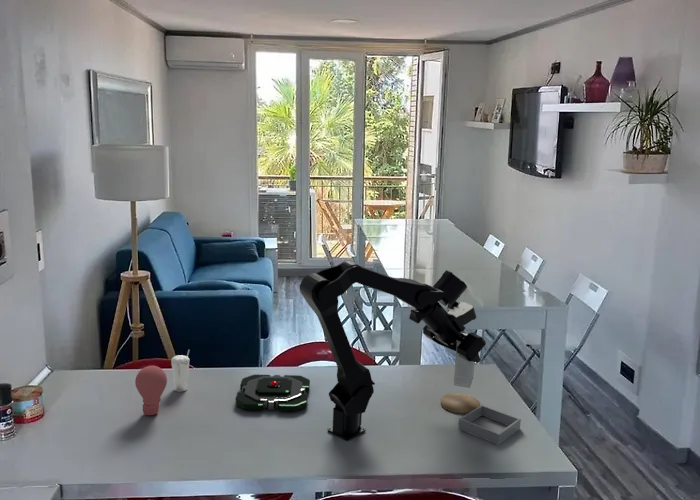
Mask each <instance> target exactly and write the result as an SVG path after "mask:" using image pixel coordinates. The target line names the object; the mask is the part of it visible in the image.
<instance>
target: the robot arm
mask: <svg viewBox="0 0 700 500" xmlns="http://www.w3.org/2000/svg"><path fill="white" fill-rule="evenodd" d="M356 283H357V284H360V285H362V286H365V287H368V288H371V289H374V290H377V291H380V292H383V293H386V294H389V295H391V296H393V297H395V299H398V300H400V301H401V302H403V303H405V304H407V305H409V306H411V307H413V309H410V314H409V320H410V321H413V322H414V323H416V324H417V325H418V324H419V323H420V322H423V323H424V324H425V325H424V327H423V328H422V334H423V335H424V336H425V337H426V338H428V339H430V340H431V341H432V342H434V343H436V344H438V345H440V346H442V347H445V348H448V349H450V350H452V351H454V352H456V349H457V353H458V354H459V355H458V356H460V357H462V358H463V359H465V360H467V361H469V362H470V361H473V362H475V364H479V363H480V362H481V357H480V354H479V353H480V352H482V350H483V348H484V347H485V346H486V343H487V341H486V340H485V339H484V337H482V336H481V335H479V334H477V333H475V332H468V333H467V334H468V335H467V336H466V335H464V334H462V333H464V331H465V330H466V327H465V325H467V324H468V323H470V322H472V321H474V320H476V319H477V314H476V311H475V307H474V305H471V304H470V303H467V302H466V301H457V300H458V299H460V297H461V296H462V294H464V292H465V291H466V290H467V288H468V285H467V284H466V282H464V281H463V280H461V278H459V277H458V276H456V275H455V274H454V273H453V272H452V271H449V270H447V269H445V271H444V272H443V273H442V274H441V277H440V278H439V279H438V280H437V281H436V282H435V284H434V285H433V286H432V285H429V284H428V283H427V284H426V283H421V282H419V281H417V280H415V279H412V278H406V277H405V278H404V277H392V276H389V275H386V274H384V273H381V272H378V271H376V270H373V269H370V268H367V267H365V266H362V265H360V264H357V263H355V262H353V261H351V260H346V261H342V262H340V263H338V264H336V265H335V266H334V265H333V266H330V267H326V268H324V269H320V270H319V271H317V272H315V273H308V274H307V275H305V276H304V277H303V278H302V280H301V282H300V284H299V291H300V293H301V294H300V295H302V297H303V298H304V300H305V301H306V303H307V304H308V306H309V307H310V308H311V310H312V311H313V312H314V313H315V315H316V317H317V319H318V321H319V324H320V326H321V329H322V331H323V334H324V336H325V338H326V341H327V344H328V346H329V349H330V352H331V354H332V356H333V358H334V361H335V364H336V366H337V367H336V368H337V371H336V378H337V382H336V384H335V385H334V387H333V388H332V389H330V391H329V392H328V397H329V399H330V402H333V403H334V407H333V409H332V410H333V411H332V425H331V426H330V427H327V431H328V432H329V433H332V434H333V435H336V436H337V437H339V438H341V439H343V440H345V441H350V440H351V439H354V438H356V437H357V436H359V435H361V434H363V433H365V432H366V428H365V427H363V426H361V425H362V419H363V418H362V414H363V413H366V410H367V408H368V406H369V402H370V400H371V398H372V396H373V394H374V392H375V390H374V386H375V384H376V382H374V381H373V378H372V376H371V371H370V369H369V368H368V367H366V366H365V365H364V364H363V363H361V362H360V361H359V360H356V357H355V355H354V352H353V350H352V347H351V345H350V340H349V339H348V337H347V333H346V331H345V328H344V325H343V323H342V320H341V318H340V316H339V311H338V310H339V297H340V296H342V295H343V294H345V293H346V292H347V291H348V289H350V287H351V286H352V285H354V284H356ZM442 305H443V306H445V307H447V308H446V309H447V311H446V309H445V308H444V307H443V306H442ZM457 342H458V343H460V344H459V345H458V347H457Z"/></svg>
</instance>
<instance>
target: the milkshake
mask: <svg viewBox="0 0 700 500" xmlns="http://www.w3.org/2000/svg"><path fill="white" fill-rule="evenodd" d="M190 351H191V350H190V349H188V350H187V354H186V355H183V354H181V355H179V354H178V355H177V354H176V355H175V356H173V357H172V358H171V360H170V361H171V363H170V364H171V369H172V378H173V379H172V380H173V389H174V391H176V392H178V393H180V392H185V391H187V390H188V388H189V386H188V385H189V371H190V358H189V354H190Z"/></svg>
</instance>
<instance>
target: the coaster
mask: <svg viewBox="0 0 700 500" xmlns="http://www.w3.org/2000/svg"><path fill="white" fill-rule="evenodd" d="M440 406H441V407H442V408H443V409H444V410H446V411H448V412H450V413H454V414H458V415H459V414H460V415H466V414H468V413H469V412H471V411H472V410H474V409H476V408H477V407H479V406H481V402H480V401H479V399H477V398H476V397H474V396H472V395H468V394H466V393H465V394H464V393H448V394H445V395H443V396H442V397H440Z"/></svg>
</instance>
